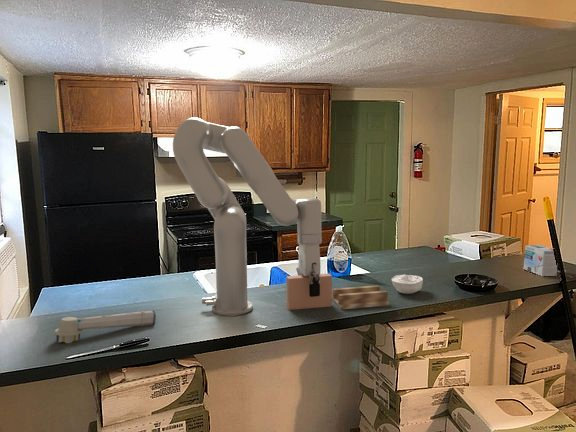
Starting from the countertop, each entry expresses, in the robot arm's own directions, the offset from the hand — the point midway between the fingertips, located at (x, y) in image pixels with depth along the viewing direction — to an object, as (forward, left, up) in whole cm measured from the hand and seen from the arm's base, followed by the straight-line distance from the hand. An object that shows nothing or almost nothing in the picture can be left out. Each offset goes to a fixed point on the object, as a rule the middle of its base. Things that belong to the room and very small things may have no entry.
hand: (310, 291), depth 137 cm
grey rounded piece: (+5, +17, -5) cm, 18 cm away
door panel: (0, 0, -5) cm, 5 cm away
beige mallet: (-59, -7, -5) cm, 60 cm away
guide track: (+17, 0, -5) cm, 17 cm away
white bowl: (+37, +6, -5) cm, 37 cm away
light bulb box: (+100, +16, -5) cm, 101 cm away
